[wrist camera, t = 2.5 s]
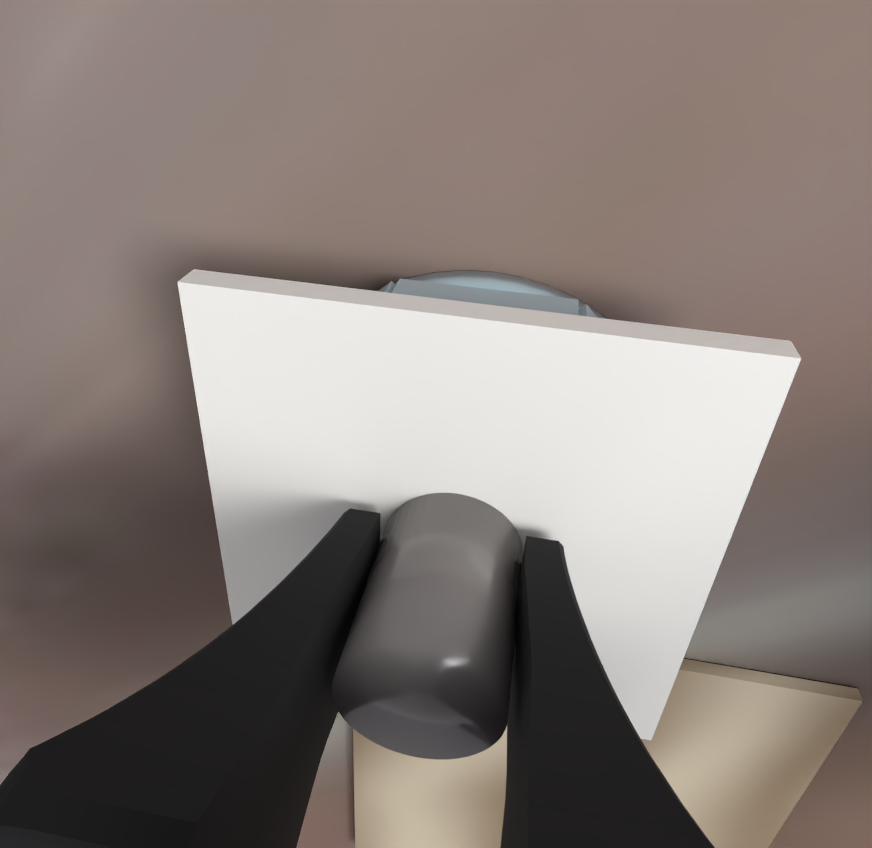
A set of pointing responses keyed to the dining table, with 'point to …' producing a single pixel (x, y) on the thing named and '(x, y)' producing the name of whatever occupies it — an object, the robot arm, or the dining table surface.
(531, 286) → the bowl
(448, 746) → the cover
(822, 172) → the dining table surface
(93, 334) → the dining table surface
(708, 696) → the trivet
